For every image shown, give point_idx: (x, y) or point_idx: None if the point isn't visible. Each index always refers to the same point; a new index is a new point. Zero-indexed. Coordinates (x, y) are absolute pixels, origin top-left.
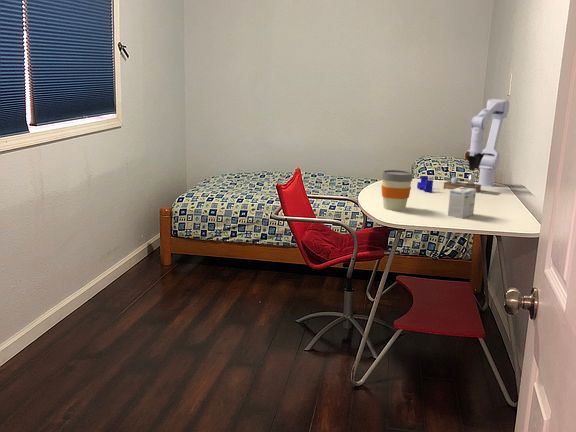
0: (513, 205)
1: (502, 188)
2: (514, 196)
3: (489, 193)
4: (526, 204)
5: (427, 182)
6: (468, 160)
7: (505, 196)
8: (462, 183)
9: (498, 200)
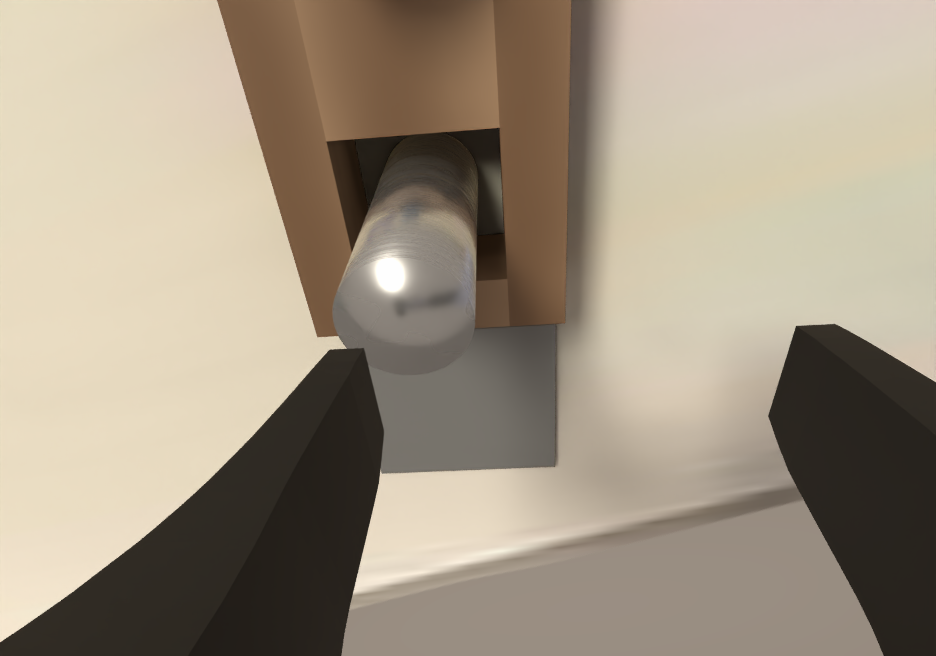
0: None
1: None
2: (500, 548)
3: (418, 405)
4: None
5: None
6: (81, 594)
7: (433, 510)
8: (436, 46)
9: None
